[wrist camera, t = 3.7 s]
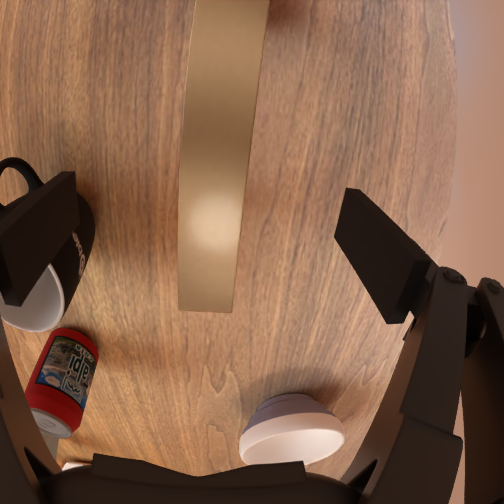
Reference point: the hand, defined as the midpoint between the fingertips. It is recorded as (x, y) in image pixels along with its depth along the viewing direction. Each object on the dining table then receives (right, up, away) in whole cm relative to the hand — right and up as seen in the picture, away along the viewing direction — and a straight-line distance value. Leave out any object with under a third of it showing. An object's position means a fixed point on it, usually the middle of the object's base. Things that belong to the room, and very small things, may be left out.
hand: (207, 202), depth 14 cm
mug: (-15, +2, +10) cm, 18 cm away
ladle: (0, +10, +7) cm, 12 cm away
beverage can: (-19, -13, +19) cm, 30 cm away
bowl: (+7, -25, +29) cm, 39 cm away
